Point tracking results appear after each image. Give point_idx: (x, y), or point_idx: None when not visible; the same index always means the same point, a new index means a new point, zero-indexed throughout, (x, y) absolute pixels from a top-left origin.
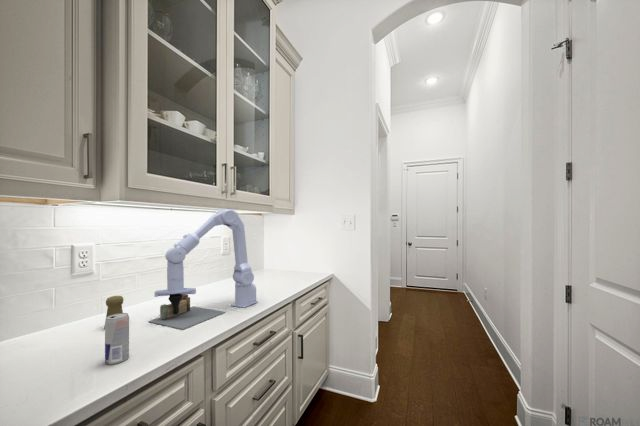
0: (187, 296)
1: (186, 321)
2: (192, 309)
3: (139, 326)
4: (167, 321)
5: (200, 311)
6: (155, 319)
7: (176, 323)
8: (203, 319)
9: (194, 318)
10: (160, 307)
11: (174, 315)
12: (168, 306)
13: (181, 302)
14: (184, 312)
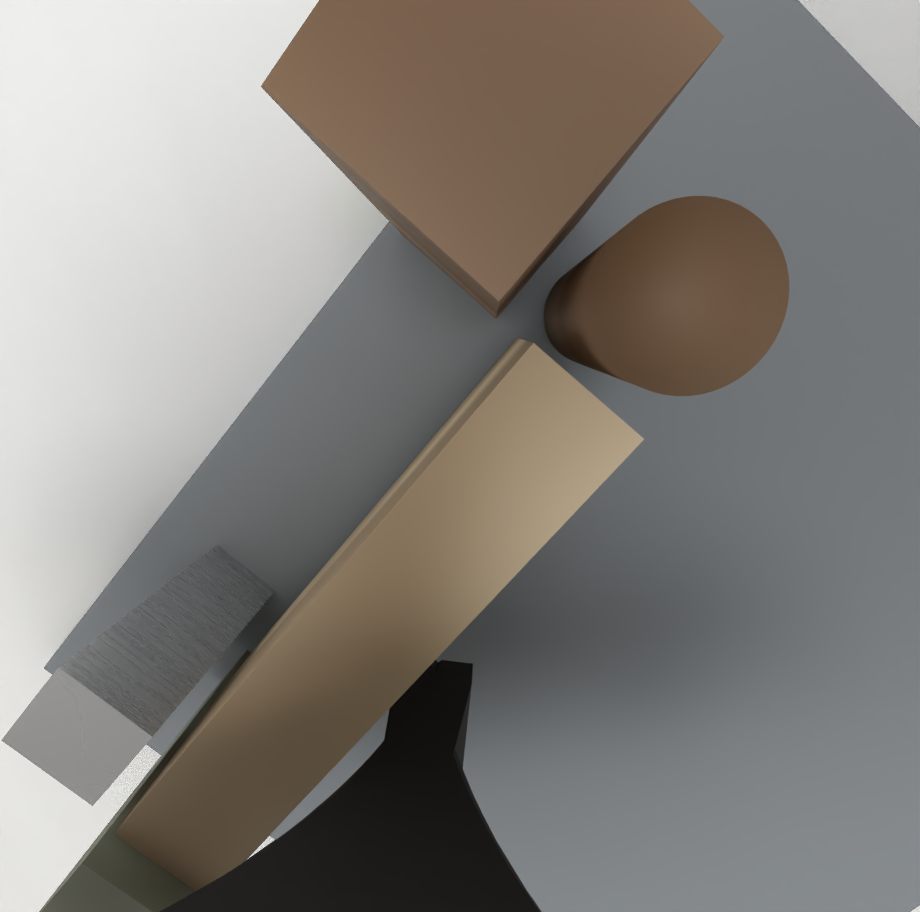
0: (662, 111)
1: (643, 866)
2: (672, 173)
3: (11, 783)
4: (348, 775)
5: (855, 397)
6: (117, 619)
7: None
8: (904, 865)
9: (756, 772)
10: (31, 735)
11: (375, 497)
12: (233, 868)
13: (497, 589)
14: None
